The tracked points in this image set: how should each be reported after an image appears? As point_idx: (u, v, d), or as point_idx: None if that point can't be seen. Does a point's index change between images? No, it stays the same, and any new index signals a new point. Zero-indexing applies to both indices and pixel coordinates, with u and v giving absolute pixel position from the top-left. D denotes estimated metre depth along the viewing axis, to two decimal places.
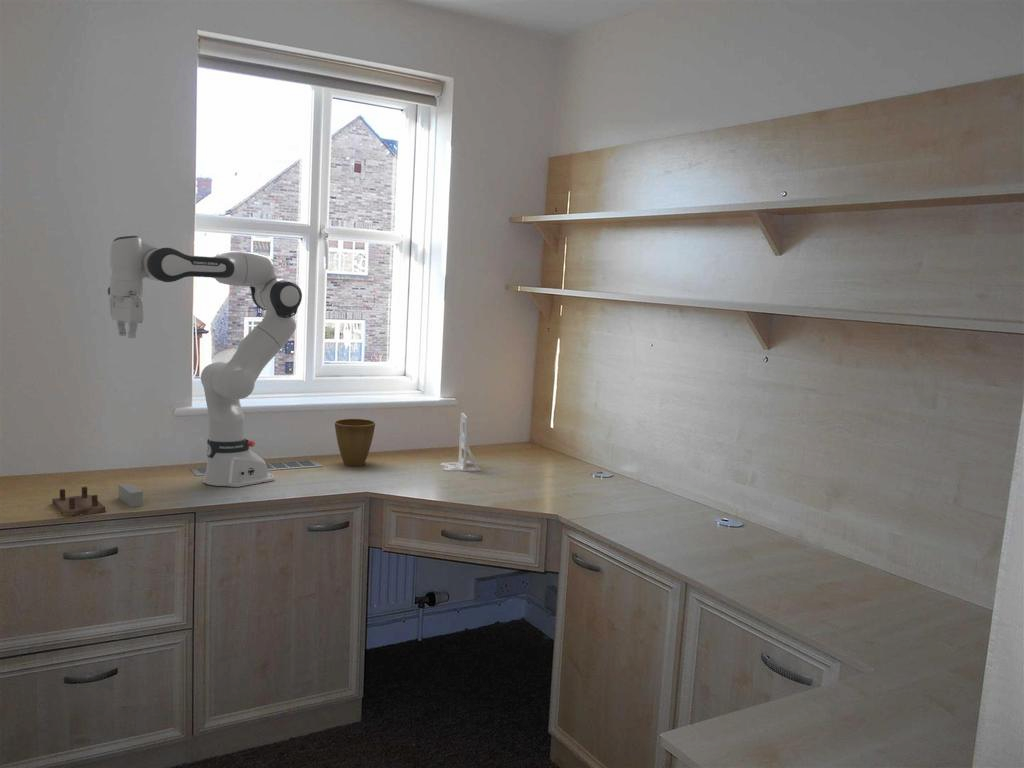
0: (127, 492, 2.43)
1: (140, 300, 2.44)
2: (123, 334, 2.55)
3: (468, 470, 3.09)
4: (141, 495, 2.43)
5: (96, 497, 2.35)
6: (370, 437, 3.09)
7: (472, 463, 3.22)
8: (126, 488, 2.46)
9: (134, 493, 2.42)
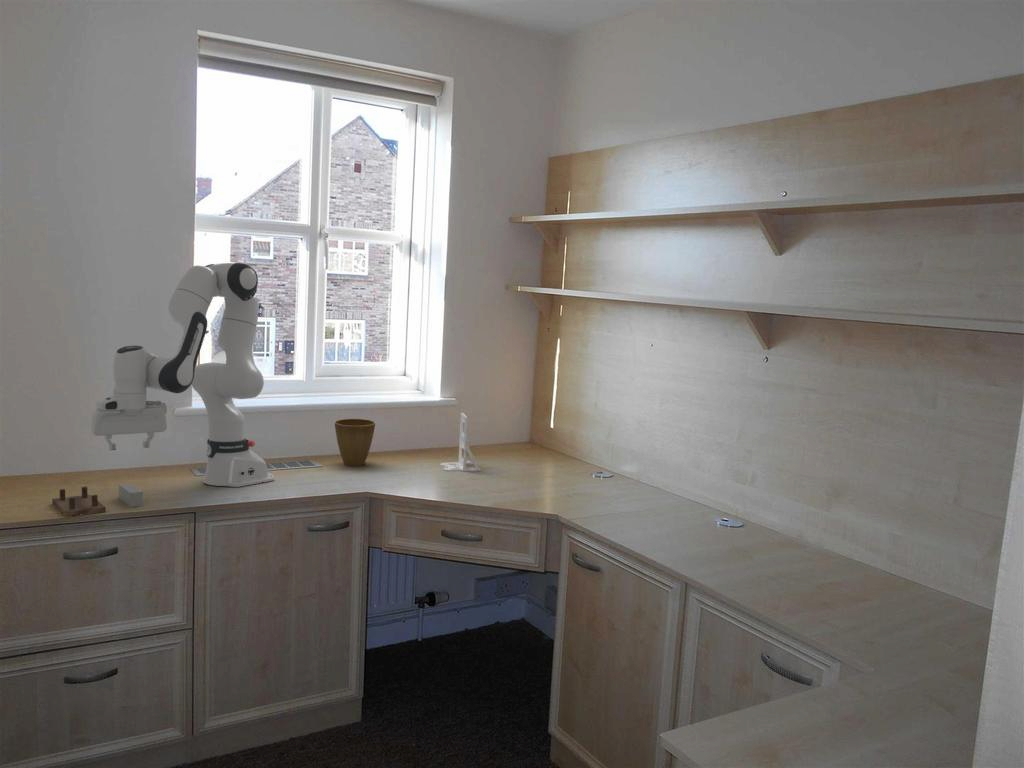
0: (127, 492, 2.43)
1: None
2: (114, 448, 2.43)
3: (468, 470, 3.09)
4: (141, 495, 2.43)
5: (96, 497, 2.35)
6: (370, 437, 3.09)
7: (472, 463, 3.22)
8: (126, 488, 2.46)
9: (134, 493, 2.42)
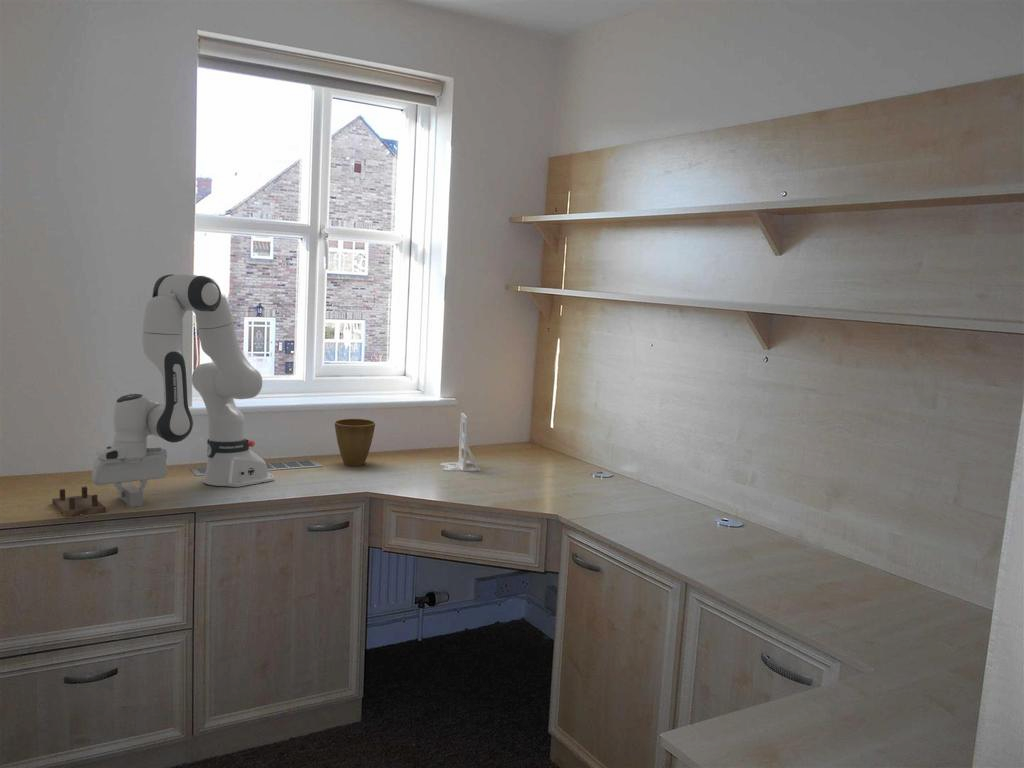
0: (127, 492, 2.43)
1: None
2: None
3: (468, 470, 3.09)
4: (141, 495, 2.43)
5: (96, 497, 2.35)
6: (370, 437, 3.09)
7: (472, 463, 3.22)
8: (126, 488, 2.46)
9: (134, 493, 2.42)
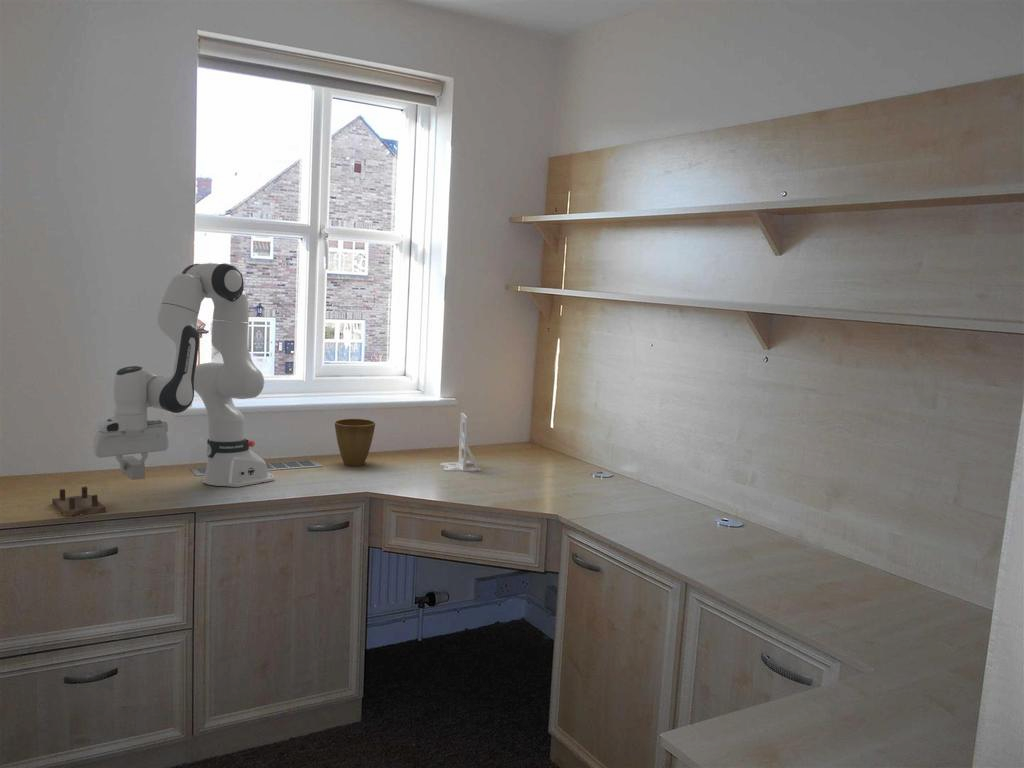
0: (129, 464, 2.43)
1: None
2: None
3: (468, 470, 3.09)
4: (143, 467, 2.43)
5: (96, 497, 2.35)
6: (370, 437, 3.09)
7: (472, 463, 3.22)
8: (128, 460, 2.45)
9: (136, 465, 2.41)
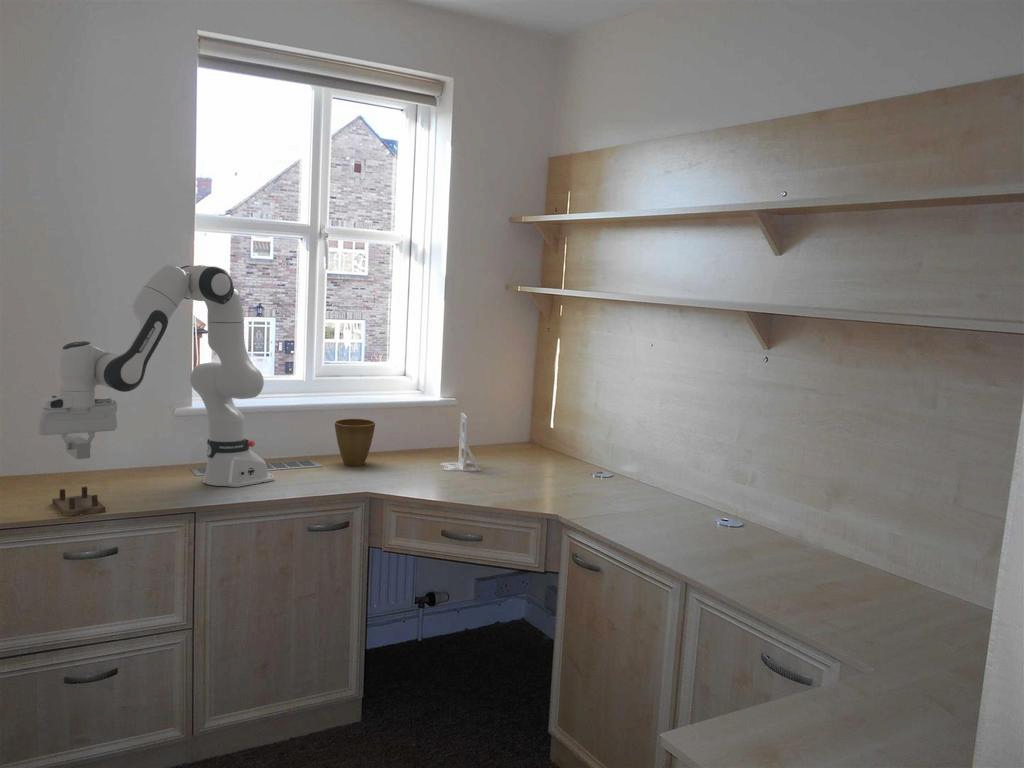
0: (74, 443, 2.32)
1: None
2: (71, 447, 2.35)
3: (468, 470, 3.09)
4: (88, 446, 2.32)
5: (96, 497, 2.35)
6: (370, 437, 3.09)
7: (472, 463, 3.22)
8: (73, 439, 2.35)
9: (81, 444, 2.31)
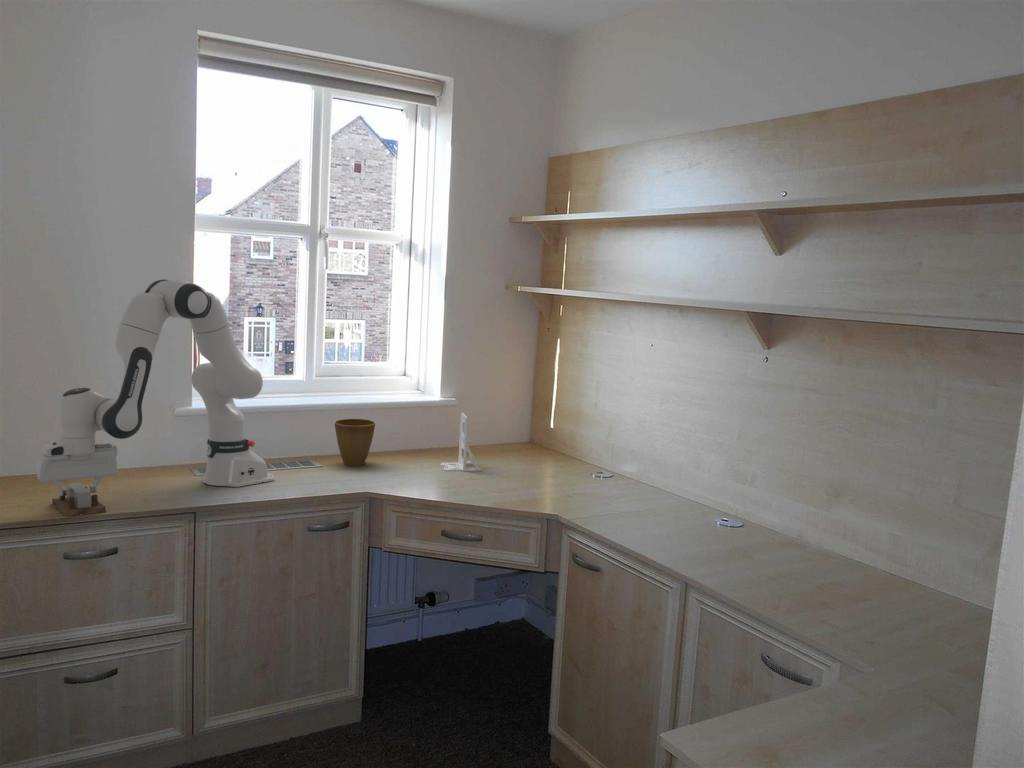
0: (74, 492, 2.34)
1: None
2: None
3: (468, 470, 3.09)
4: (89, 495, 2.34)
5: (96, 497, 2.35)
6: (370, 437, 3.09)
7: (472, 463, 3.22)
8: (74, 488, 2.37)
9: (81, 493, 2.33)
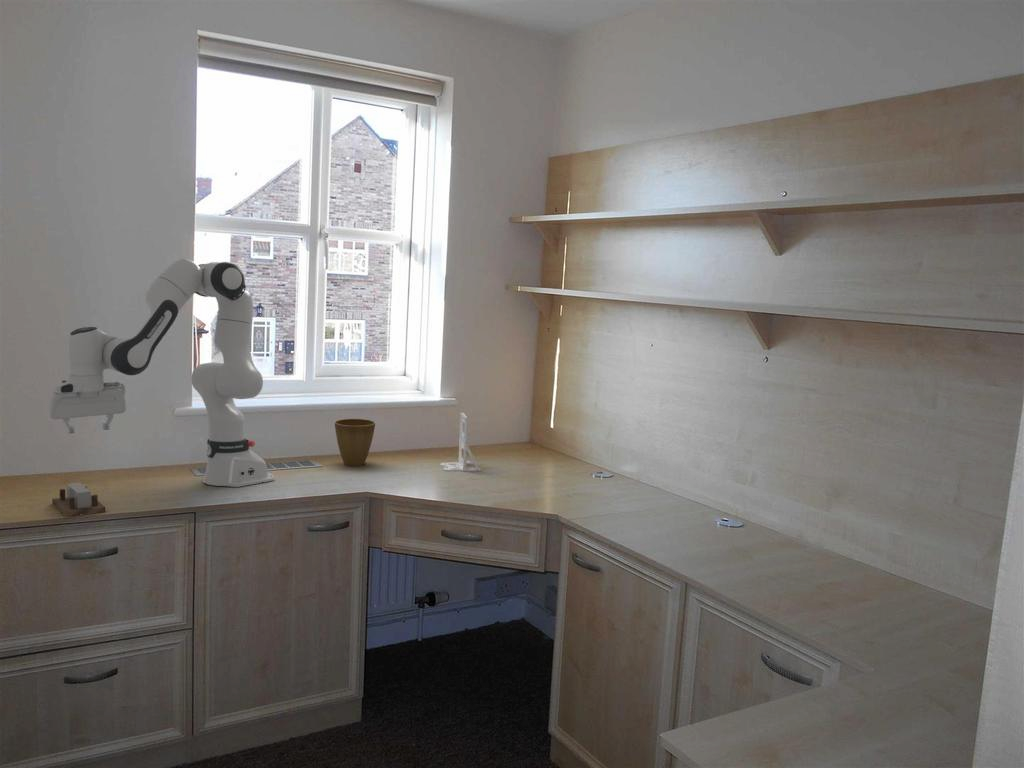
0: (74, 492, 2.34)
1: None
2: None
3: (468, 470, 3.09)
4: (89, 495, 2.34)
5: (96, 497, 2.35)
6: (370, 437, 3.09)
7: (472, 463, 3.22)
8: (74, 488, 2.37)
9: (81, 493, 2.33)
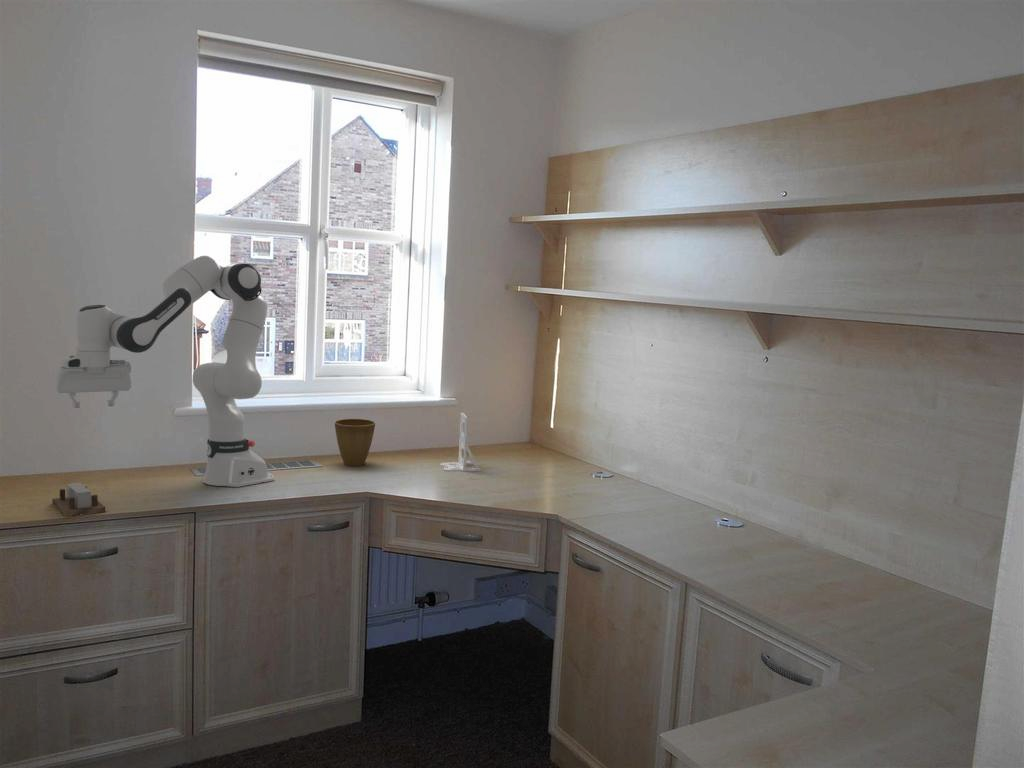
0: (74, 492, 2.34)
1: None
2: None
3: (468, 470, 3.09)
4: (89, 495, 2.34)
5: (96, 497, 2.35)
6: (370, 437, 3.09)
7: (472, 463, 3.22)
8: (74, 488, 2.37)
9: (81, 493, 2.33)
